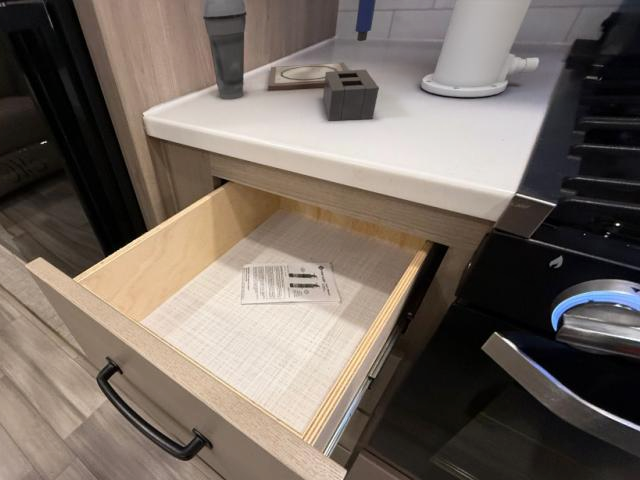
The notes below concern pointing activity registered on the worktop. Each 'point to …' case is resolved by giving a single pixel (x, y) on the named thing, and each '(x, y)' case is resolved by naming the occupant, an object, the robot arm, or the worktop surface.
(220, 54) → the beverage cup
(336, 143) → the worktop surface
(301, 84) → the drawing board
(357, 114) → the block
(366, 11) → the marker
